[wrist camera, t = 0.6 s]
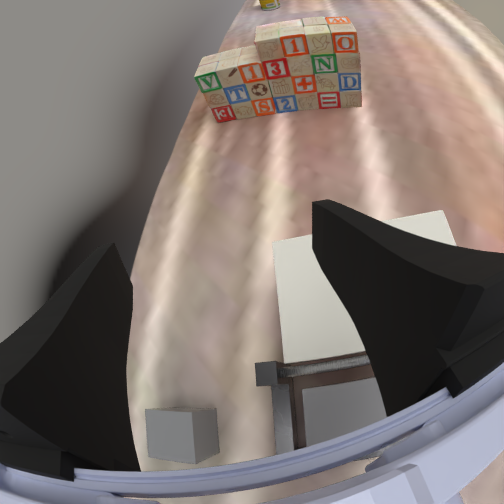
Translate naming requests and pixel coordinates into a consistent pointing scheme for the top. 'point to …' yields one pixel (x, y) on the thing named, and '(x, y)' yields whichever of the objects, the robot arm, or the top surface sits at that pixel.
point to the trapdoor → (331, 331)
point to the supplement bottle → (269, 4)
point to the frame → (284, 396)
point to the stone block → (182, 434)
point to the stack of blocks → (285, 70)
